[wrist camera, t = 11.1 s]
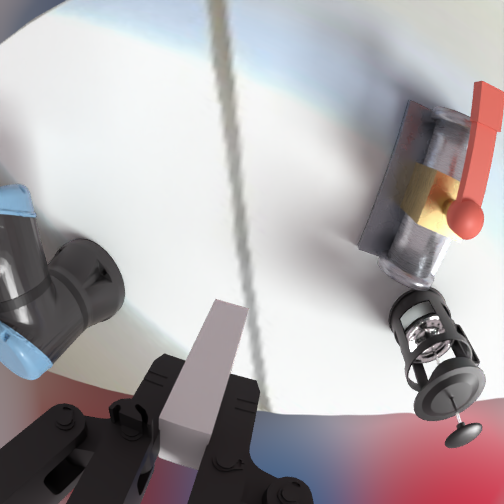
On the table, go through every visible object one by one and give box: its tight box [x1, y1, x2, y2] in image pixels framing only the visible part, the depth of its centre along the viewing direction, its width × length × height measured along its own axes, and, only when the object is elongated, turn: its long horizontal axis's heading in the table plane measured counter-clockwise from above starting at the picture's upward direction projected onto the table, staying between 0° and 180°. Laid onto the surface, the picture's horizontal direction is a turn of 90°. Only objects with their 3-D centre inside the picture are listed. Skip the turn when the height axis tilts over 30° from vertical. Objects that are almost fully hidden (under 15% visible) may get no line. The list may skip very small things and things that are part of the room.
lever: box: [446, 81, 504, 240], centre depth 21 cm, size 15×4×2 cm, turn 172°
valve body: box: [358, 100, 472, 291], centre depth 30 cm, size 20×12×10 cm, turn 165°
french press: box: [389, 288, 486, 448], centre depth 30 cm, size 12×9×23 cm
